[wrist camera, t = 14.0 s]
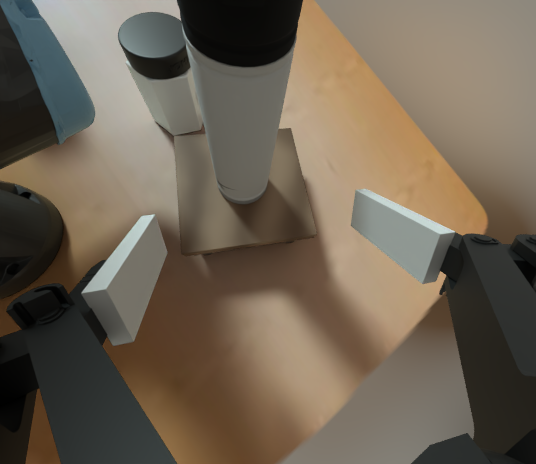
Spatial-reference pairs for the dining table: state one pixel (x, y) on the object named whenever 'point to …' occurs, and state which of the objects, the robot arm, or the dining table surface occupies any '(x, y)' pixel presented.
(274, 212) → the peg shelf
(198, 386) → the dining table surface
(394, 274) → the dining table surface
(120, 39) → the jar
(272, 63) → the travel mug
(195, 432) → the dining table surface
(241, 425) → the dining table surface
